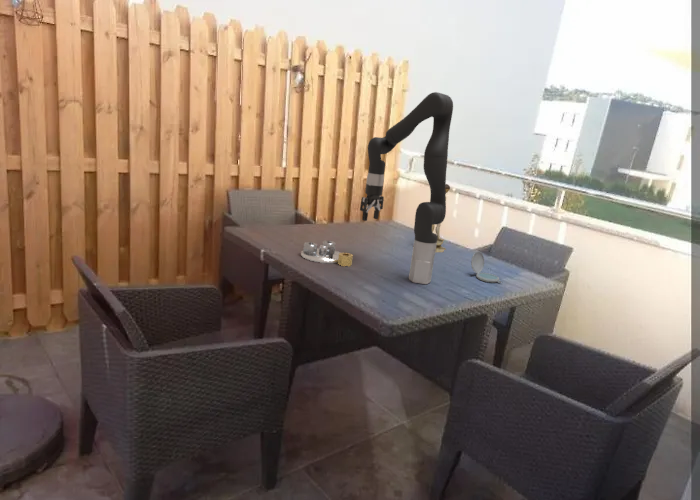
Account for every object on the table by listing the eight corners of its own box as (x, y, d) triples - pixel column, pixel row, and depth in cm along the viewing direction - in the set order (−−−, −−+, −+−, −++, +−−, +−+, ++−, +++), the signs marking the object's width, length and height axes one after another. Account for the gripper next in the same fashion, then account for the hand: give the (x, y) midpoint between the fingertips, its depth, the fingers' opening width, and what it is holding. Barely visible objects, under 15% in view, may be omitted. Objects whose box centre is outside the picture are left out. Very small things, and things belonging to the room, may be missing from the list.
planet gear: (350, 267, 205) (352, 257, 204) (337, 265, 206) (338, 255, 205) (352, 263, 211) (353, 253, 210) (339, 261, 211) (340, 252, 210)
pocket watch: (483, 250, 216) (512, 259, 205) (479, 273, 219) (507, 283, 208) (470, 252, 210) (499, 262, 199) (466, 275, 213) (495, 286, 202)
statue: (443, 254, 246) (454, 187, 237) (410, 248, 251) (420, 182, 242) (447, 247, 262) (457, 184, 253) (416, 241, 267) (426, 179, 257)
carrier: (341, 265, 206) (342, 251, 204) (296, 259, 207) (297, 245, 206) (346, 254, 225) (348, 241, 223) (305, 248, 227) (306, 235, 225)
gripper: (377, 181, 216) (372, 216, 220) (358, 182, 205) (354, 219, 209) (390, 184, 211) (385, 220, 216) (372, 185, 200) (367, 223, 205)
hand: (370, 219), depth 212 cm, fingers open, 8 cm apart
